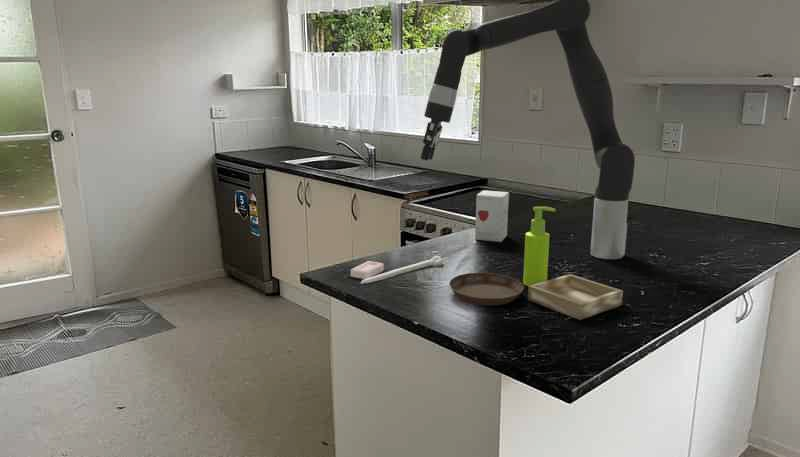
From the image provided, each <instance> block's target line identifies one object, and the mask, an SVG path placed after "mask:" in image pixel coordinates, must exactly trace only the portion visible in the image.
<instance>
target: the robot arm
mask: <svg viewBox="0 0 800 457" xmlns="http://www.w3.org/2000/svg"><path fill="white" fill-rule="evenodd" d="M590 15H591V5H590V2H589V1H588V0H555V1H554V2H551V3H548V4H547V5H544V6H541V7H539V8H535V9H532V10H530V11H525V12H521V13H518V14H514V15H509V16H506V17H501V18H498V19H494V20H491V21H486V22H484V23H481V24H479V25H477V26H476V27H473V28H471V29H466V30H461V29H453V30H451V31H449V32H448V33H447V34H446V35H445V37H444V38H443V44H442V47H441V52H440V58H439V64H438V67H437V70H436V73H435V76H434V80H433V84H432V87H431V89H430V92H429V95H428V100H427V102H426V108H425V110H424V111H425V112H424V114H423V115H424V117H425V118H428V119H430V122H429V121H428V123H427V125H426V130H425V133H424V138H423V140H422V144H423V146H422V147H423V148H422V152H421V155H420V159H421V160H424V161H429V160H430V161H431V160H433V159H434V158H433V157H434V153H435V150H436V148H437V147H438V144H439V141H440V139H441V138H440V137H441V134H442V131H443V125H442V123H450V122H451V119H452V116H453V111H454V108H455V105H456V101H457V95H458V89H459V86H460V82H461V77H462V71H463V67H464V64H465V60H466V57H468V56H472V55H474V54H477V53H479V52H482V51H485V50H491V49H494V48H498V47H501V46H505V45H508V44H511V43H515V42H517V41H520V40H523V39H525V38H528V37H532V36H534V35H538V34H542V33H546V32H550V31H555V32H556V35H557V37H558V39H559V41H560V44H561V47H562V48H563V51H564V54H565V58H566V63H567V67H568V72H569V75H570V79H571V83H572V86H573V90H574V93H575V96H576V99H577V101H578V105H579V108H580V111H581V113H582V116H583V119H584V121H585V123H586V125H587V127H588V131H589V135H590V140H591V143H592V144H591V145H592V149H593V155H594V160H595V163H596V166H597V168H598V169H599V176H598V183H597V186H596V188H595V189H594V190H595V191H594V199H593V202H594V203H593V214H592V216H593V217H592V226H591V228H592V229H591V239H590V240H591V242H590V251H589V252H590V255H591V256H593V257H594V258H598V259H603V260H619V259H622V258H623V257H624V256H625V255H626V245H627V244H626V243H627V234H628V223H627V217H628V207H629V206H628V205H629V196H630V192H631V190H632V188H633V187H632V186H633V180H634V172H635V162H636V161H635V154H634V152H633V150H632V148H631V147H630V146H628V145H627V144H624V143H623V142H622V139H621V137H620V134H619V132H618V130H617V126H616V122H615V116H614V115H615V114H614V99H613V98H614V97H613V92H612V88H611V84H610V81H609V78H608V75H607V72H606V70H605V67H604V65H603V63H602V61H601V59H600V58H599V56H598V54H597V53H596V51H595V49H594V47H593V44H592V43H591V40H590V36H589V34H588V29H587V25H586V22H587V21H588V19H589V17H590Z"/></svg>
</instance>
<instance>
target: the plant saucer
mask: <svg viewBox="0 0 800 457" xmlns="http://www.w3.org/2000/svg"><path fill="white" fill-rule="evenodd" d="M448 284H449V285H448V286H449V287H450V288H451V290H452V292H453V293H454V294H455V296H456V297H457V298H458V299H459V300H461V301H463V302H465V301H466V303H468V302H469V304H472V305H476V306H477V305H478V306H488V307H489V306H492V307H493V306H501V305H505V304H509V303H512V302H513V301H514V300H516V299H517V298H518V297H519V296H520V294H521V293H522V292H523V290H524V284H523V282H521V281H520V280H518V279H516V278H513V277H511V276H508V275H504V274H500V273H495V272H469V273H464V274H460V275H457V276H456V275H455V276H454V277H453V278H451V279H450V280H449V283H448Z"/></svg>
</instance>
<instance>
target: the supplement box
mask: <svg viewBox="0 0 800 457" xmlns="http://www.w3.org/2000/svg"><path fill="white" fill-rule="evenodd" d="M475 198H476V199H475V200H476V201H475V205H476V206H475V224H474V225H475V226H474V227H475V229H474V240H476V241H477V240H480V241H487V242H488V241H489V242H498V243H502V242H503V241H504V239H506V237H507V236H508V219H509V218H508V217H509V216H508V215H509V201H510V191H509V192H507V191H496V190H484V189H483V190H481V191H480V192H478V193H477V194H476V197H475Z"/></svg>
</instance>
